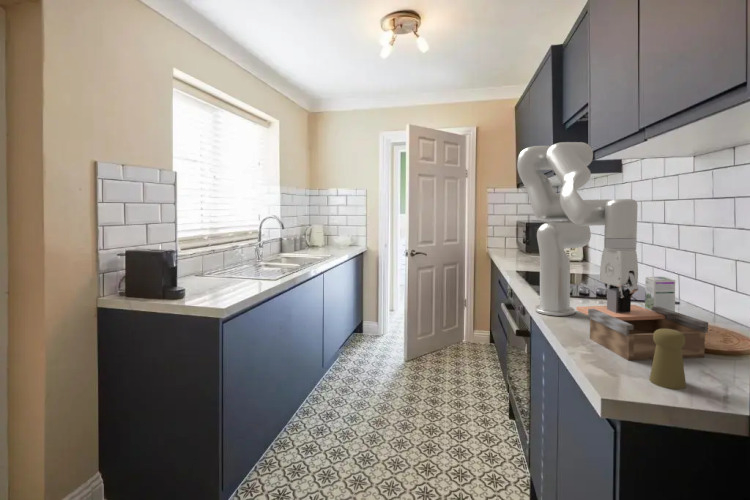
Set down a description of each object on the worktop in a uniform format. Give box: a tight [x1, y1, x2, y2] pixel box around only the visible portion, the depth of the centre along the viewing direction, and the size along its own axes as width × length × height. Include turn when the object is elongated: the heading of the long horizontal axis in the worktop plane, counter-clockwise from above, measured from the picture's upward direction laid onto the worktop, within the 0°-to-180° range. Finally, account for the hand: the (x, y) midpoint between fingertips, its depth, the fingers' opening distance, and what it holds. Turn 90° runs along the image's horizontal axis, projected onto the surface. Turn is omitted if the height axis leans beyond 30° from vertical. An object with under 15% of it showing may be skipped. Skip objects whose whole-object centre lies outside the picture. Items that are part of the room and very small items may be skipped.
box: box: [587, 306, 709, 361], centre depth 98 cm, size 16×19×8 cm
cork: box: [649, 329, 687, 390], centre depth 78 cm, size 6×6×11 cm
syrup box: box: [644, 276, 676, 312], centre depth 115 cm, size 6×6×14 cm
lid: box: [576, 288, 665, 321], centre depth 108 cm, size 12×17×7 cm
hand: (618, 308), depth 108 cm, fingers closed on lid, 4 cm apart
